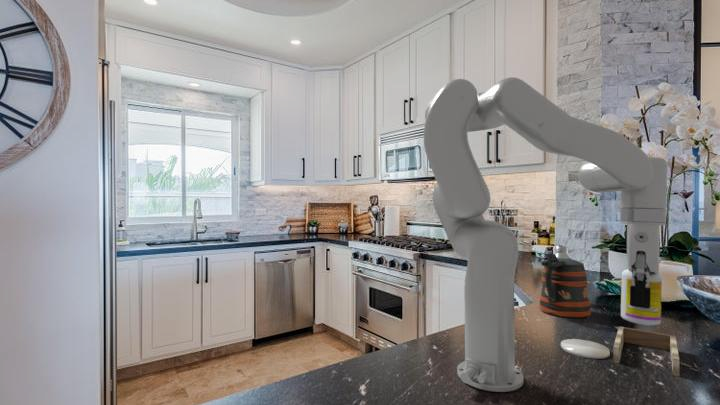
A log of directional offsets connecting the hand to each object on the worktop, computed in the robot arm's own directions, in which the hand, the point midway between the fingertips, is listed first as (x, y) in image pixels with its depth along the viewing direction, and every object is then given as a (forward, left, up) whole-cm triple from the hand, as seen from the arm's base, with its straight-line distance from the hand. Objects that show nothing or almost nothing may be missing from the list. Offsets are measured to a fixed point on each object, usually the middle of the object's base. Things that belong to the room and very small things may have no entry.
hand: (640, 302), depth 76 cm
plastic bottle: (+53, +24, -15) cm, 60 cm away
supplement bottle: (0, 0, -4) cm, 4 cm away
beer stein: (+37, +21, -15) cm, 45 cm away
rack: (+11, -1, -14) cm, 18 cm away
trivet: (+7, +11, -14) cm, 19 cm away
